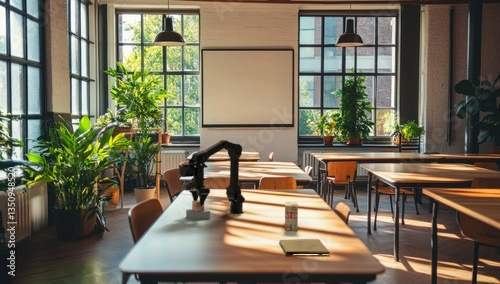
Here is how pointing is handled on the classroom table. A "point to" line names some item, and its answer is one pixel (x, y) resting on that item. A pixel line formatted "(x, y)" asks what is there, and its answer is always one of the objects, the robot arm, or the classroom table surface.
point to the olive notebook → (303, 246)
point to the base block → (198, 214)
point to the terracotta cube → (197, 206)
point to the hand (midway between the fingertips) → (198, 204)
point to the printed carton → (291, 215)
